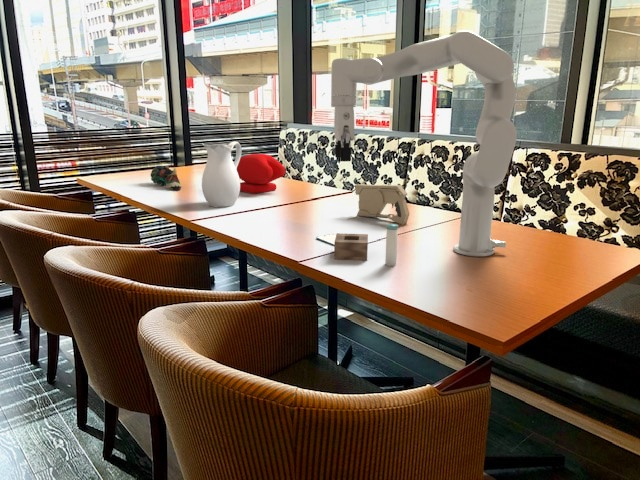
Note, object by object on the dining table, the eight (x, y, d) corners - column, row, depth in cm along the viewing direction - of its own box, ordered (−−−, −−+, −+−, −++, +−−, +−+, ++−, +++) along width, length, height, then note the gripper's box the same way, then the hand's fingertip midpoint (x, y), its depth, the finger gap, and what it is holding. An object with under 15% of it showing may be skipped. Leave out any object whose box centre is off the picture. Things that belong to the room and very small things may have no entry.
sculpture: (172, 159, 290) (192, 171, 268) (169, 182, 294) (189, 196, 271) (148, 157, 282) (167, 170, 260) (146, 181, 286) (164, 195, 263)
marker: (396, 262, 155) (397, 223, 151) (396, 266, 152) (398, 226, 148) (384, 262, 155) (386, 223, 152) (385, 265, 152) (386, 226, 149)
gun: (410, 223, 201) (409, 185, 198) (405, 225, 198) (404, 186, 195) (361, 219, 217) (359, 183, 214) (356, 220, 215) (354, 184, 212)
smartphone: (362, 247, 172) (333, 236, 184) (362, 244, 172) (333, 233, 184) (343, 251, 168) (315, 239, 180) (343, 248, 167) (315, 237, 180)
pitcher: (224, 210, 224) (221, 145, 216) (195, 205, 232) (190, 143, 224) (257, 200, 243) (255, 140, 236) (229, 197, 252) (226, 139, 244)
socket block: (367, 250, 166) (367, 234, 165) (367, 260, 157) (367, 242, 155) (336, 249, 167) (336, 233, 166) (334, 259, 158) (334, 241, 156)
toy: (264, 158, 246) (228, 151, 267) (264, 198, 252) (229, 188, 273) (289, 155, 257) (252, 149, 277) (288, 194, 263) (252, 185, 283)
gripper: (361, 102, 147) (360, 162, 152) (350, 101, 164) (349, 155, 168) (335, 102, 146) (335, 163, 151) (327, 101, 163) (326, 156, 168)
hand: (342, 159), depth 160 cm, fingers open, 9 cm apart
